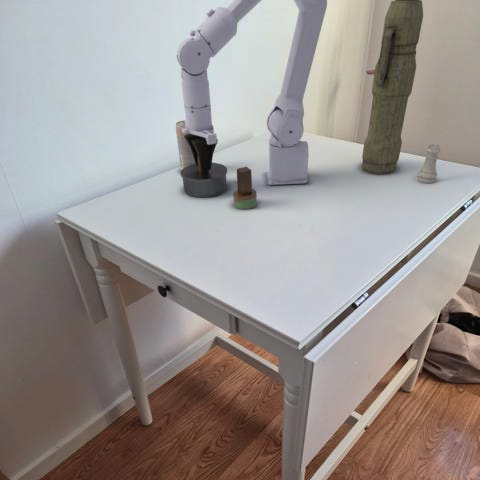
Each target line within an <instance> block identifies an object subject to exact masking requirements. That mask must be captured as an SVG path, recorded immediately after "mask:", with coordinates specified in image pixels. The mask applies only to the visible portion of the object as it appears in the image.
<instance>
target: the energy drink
mask: <svg viewBox="0 0 480 480" xmlns="http://www.w3.org/2000/svg"><path fill="white" fill-rule="evenodd" d="M182 128H185V121H184V120H180V121H176V123H175V133H176V140H177V141H176V142H177V149H178V150H177V151H178V157H179V164H180V171H181V170H182V169H183V168H185V167H187V166H189V165H192V164H196V163H195V160H194V157H193V154H192V151H191V149H190V146H189V144H188V142H187V141H186V139H185V137H184V136H185V135H187V134H190V133H187V134H185V133H183V132H182Z"/></svg>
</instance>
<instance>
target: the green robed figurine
mask: <svg viewBox="0 0 480 480" xmlns="http://www.w3.org/2000/svg"><path fill="white" fill-rule="evenodd" d="M423 7H424V6H423V0H392V1H390V4H389V7H388V8H387V11H386V14H385V17H384V22H383V29H382V37H381V43H380V44H381V46H380V51H379V56H378V57H379V58H378V59H377V62H376V64H375V67H374V72H373V80H372V86H371V95H372V101H371V108H370V115H369V122H368V129H367V136H366V137H365V140H364V141H363V149H362V154H361V155H362V156H361V159H362V163H361V168H360V169H361V171H363V172H365V173H367V174H371V175H381V176H383V175H385V176H386V175H391V174H393V173H395V172H396V170H397V164H398V162H399V159H400V154H401V150H402V144H403V141H402V132H403V127H404V121H405V117H406V111H407V106H408V101H409V98H410V96H411V94H412V93H413V92H412V91H413V86H414V81H415V77H416V71H417V59H416V55H417V45H418V44H419V39H420V35H421V29H422V25H423V19H424V8H423Z"/></svg>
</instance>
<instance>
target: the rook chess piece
mask: <svg viewBox="0 0 480 480" xmlns="http://www.w3.org/2000/svg"><path fill="white" fill-rule="evenodd" d="M425 151H426V155H425V156H424V157H425V158H424V159H425V160H424V162H423V165H422V167H421V168H420V169H419V171H418V172H417V176H416V179H417V181H418V182H420V183H425V184H433V183H434V182H435V181H436V180H437V176H438V173H437V169H436V166H437V160H438V159H439V156H438V155H439V154H440V153H441V151H442V150H441V145H439V144H436V145H435V144H434V143H432V144H431V143H430V144H428V145H427V148H426V149H425Z"/></svg>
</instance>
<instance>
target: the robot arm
mask: <svg viewBox="0 0 480 480" xmlns="http://www.w3.org/2000/svg"><path fill="white" fill-rule="evenodd" d="M261 1H262V0H232V1H231V2H230V3H229V5H227V7H223V6H217V7H216V8H215V9H212V8H210V9H209V10H208V11H207V12H206V15H207V17H206V18H205V20H203V21H202V22H201V24H200V25H199V26H197V27H196V29H195V30H194V29H191V30H190V32H189V34H188V35H190V37H191V38H185V39H183V41H181V43H180V44H179V45H178V48H177V52H176V53H177V54H176V60H177V62H178V64H179V66H180V67H181V68H180V76H181V89H182V90H181V91H182V99H183V107H184V116H185V119H184V120H183V121H185V128H182V132H183V133H185V134H187V133H190V134H187V135H185V136H184V137H185V139H186V141H187V142H188V144H189V146H190V149H191V151H192V154H193V157H194V160H195V163H196V166H197V167H198V158H199V163H200V167H201V169H202V171H206V170H211V165H212V163H213V157H214V154H215V150H216V147H217V145H218V143H219V140H218V137H217V136H218V135H217V133H216V132H215V128H214V125H213V118H212V106H211V105H212V104H211V94H210V82H209V78H208V67H209V66H210V62H211V58H215V57H216V56H217V55H218V53H220V51H221V50H223V48H224V47H226V46H227V45H228V43H229V42H230V41H231V40H232V39H233V38H234V37H235V36H236V35H237V32H238V24H239V23H240V21H242V20H243V19H244V18H245V17H246V15H248V14H249V13H250V12H251V11H252V10H253V9H254V8H255V7H256V6H257V5H258V4H259V3H261ZM293 1H294V4H295V5H296V7H297V9H298V15H297V19H296V22H295V28H294V33H293V36H292V40H291V46H290V50H289V54H288V58H287V63H286V67H285V71H284V75H283V81H282V84H281V89H280V93H279V95H278V96H277V98H276V99H275V101H274V106H273V108H272V109H271V111H270V113H268V116H267V118H266V126H267V130H268V131H269V133H270V134H271V135H270V138H269V140H268V143H269V144H268V170H267V171H266V177H267V184H268V185H269V186H279V185H294V184H295V185H299V184H307V183H308V171H309V168H308V167H309V143H308V141H307V140H301V139H302V137H303V135H304V130H305V129H304V117H305V108H304V103H303V102H304V101H303V100H304V97H305V92H306V88H307V85H308V81H309V77H310V73H311V69H312V65H313V62H314V58H315V54H316V51H317V46H318V43H319V38H320V34H321V31H322V27H323V23H324V19H325V14H326V12H327V6H328V0H293ZM197 155H198V158H197Z"/></svg>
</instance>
